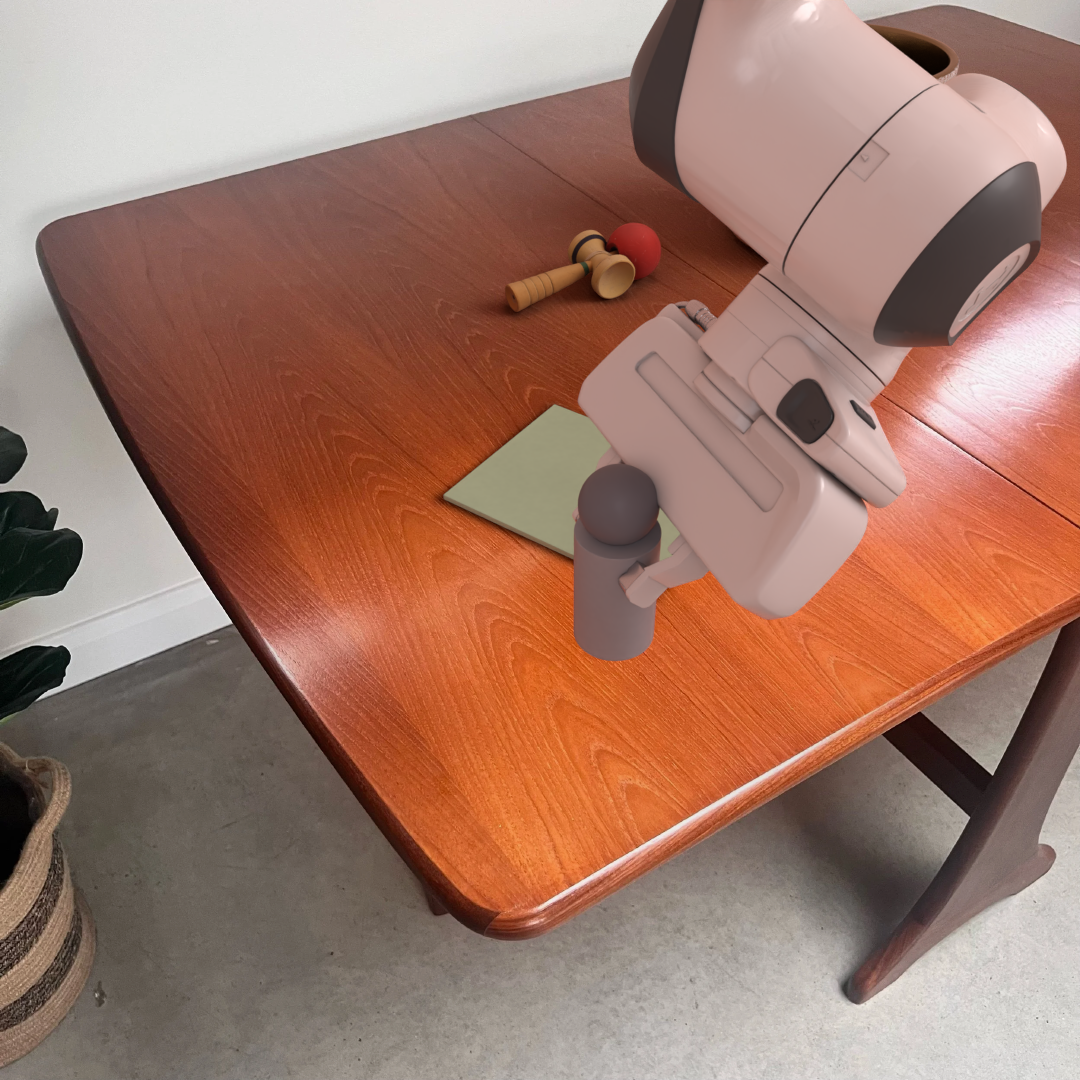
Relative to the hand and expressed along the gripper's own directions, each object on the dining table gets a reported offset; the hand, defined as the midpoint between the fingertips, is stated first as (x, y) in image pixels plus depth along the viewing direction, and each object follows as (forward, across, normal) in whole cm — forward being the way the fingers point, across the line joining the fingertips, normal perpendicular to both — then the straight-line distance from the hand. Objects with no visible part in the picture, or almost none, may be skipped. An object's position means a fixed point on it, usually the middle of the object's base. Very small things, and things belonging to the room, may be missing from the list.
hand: (606, 562), depth 58 cm
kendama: (-6, -54, +27) cm, 61 cm away
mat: (+3, -22, +18) cm, 29 cm away
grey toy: (+4, 0, +5) cm, 6 cm away
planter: (-28, -56, +49) cm, 79 cm away
